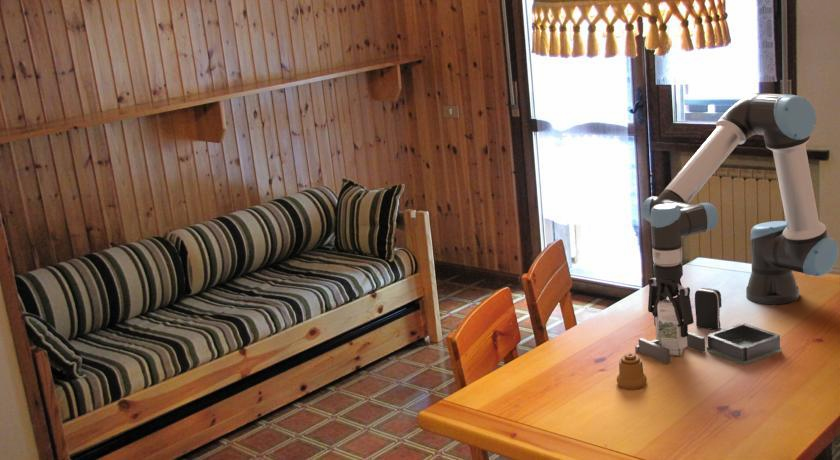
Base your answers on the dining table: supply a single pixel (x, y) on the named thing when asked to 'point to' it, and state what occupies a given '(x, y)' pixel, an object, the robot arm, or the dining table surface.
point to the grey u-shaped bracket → (662, 353)
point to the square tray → (744, 343)
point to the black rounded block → (708, 308)
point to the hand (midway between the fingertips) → (671, 342)
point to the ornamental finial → (631, 372)
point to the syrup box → (668, 327)
